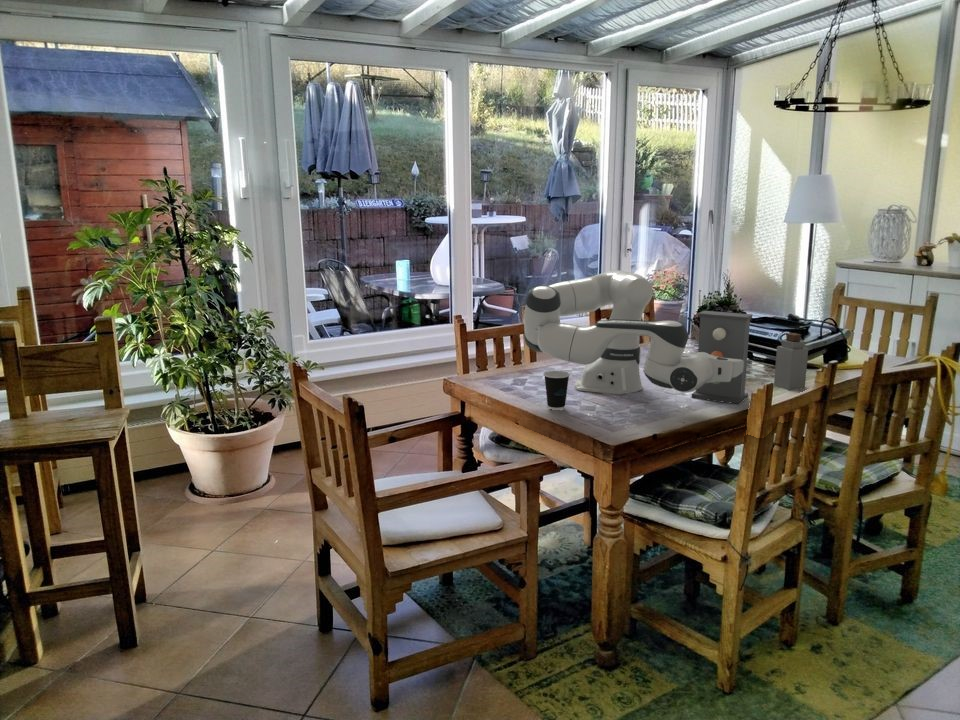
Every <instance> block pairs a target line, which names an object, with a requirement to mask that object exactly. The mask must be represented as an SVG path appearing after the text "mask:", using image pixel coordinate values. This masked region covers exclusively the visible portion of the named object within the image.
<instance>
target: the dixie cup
mask: <svg viewBox="0 0 960 720" xmlns="http://www.w3.org/2000/svg"><path fill="white" fill-rule="evenodd" d="M543 376H544V383H545V385H544V386H545V393H546V403H547V406H548V409H549V408H550V409H553V410H552V411H554V410H560V411H562V410H561V409H563V410H564V409H565V406H566V401H567V393H568V386H569V379H570V378H569V376H571V374H570V372H567V371H564V370H547V371H545V372H544V373H543ZM550 409H549V410H550Z"/></svg>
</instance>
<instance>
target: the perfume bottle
mask: <svg viewBox="0 0 960 720" xmlns="http://www.w3.org/2000/svg"><path fill="white" fill-rule="evenodd" d="M785 336H786V339H780V342H781V345H778V346H776V355H775V356H776V357H775V369H774V379H773V386H774V385H775V387H778V388H780V389H784V390H787V391H794V390H795V391H796V390H801V389H800V388H802V389H805V388H806V377H807V367H808V357H809V355H808V354H809V348H808V347H805V345H806V341H804V340H801V338H802V334H801V333H796V332H789V333H786V335H785Z"/></svg>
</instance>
